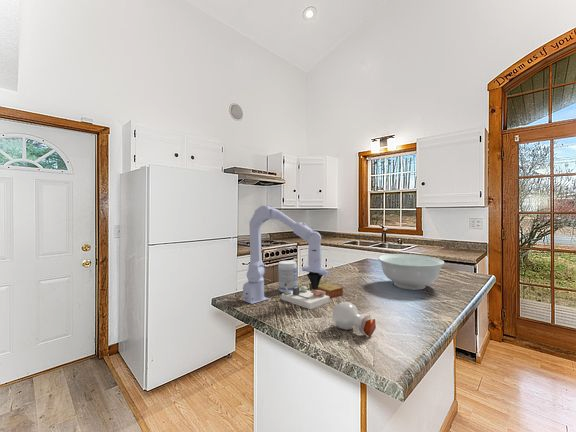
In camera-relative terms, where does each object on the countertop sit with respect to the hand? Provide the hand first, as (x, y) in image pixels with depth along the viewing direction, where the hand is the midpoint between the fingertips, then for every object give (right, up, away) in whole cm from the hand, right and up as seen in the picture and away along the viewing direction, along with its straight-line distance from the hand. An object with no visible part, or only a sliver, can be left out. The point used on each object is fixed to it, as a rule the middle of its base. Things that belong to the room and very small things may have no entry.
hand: (315, 289), depth 128 cm
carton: (+7, -6, +15) cm, 17 cm away
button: (-5, -3, +9) cm, 10 cm away
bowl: (+53, -5, +25) cm, 59 cm away
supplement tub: (-12, -6, +19) cm, 23 cm away
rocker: (+2, -2, +2) cm, 3 cm away
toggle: (-12, -3, +5) cm, 14 cm away
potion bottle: (+10, -7, -29) cm, 31 cm away
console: (-4, -6, +3) cm, 8 cm away
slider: (-8, -4, +4) cm, 10 cm away
